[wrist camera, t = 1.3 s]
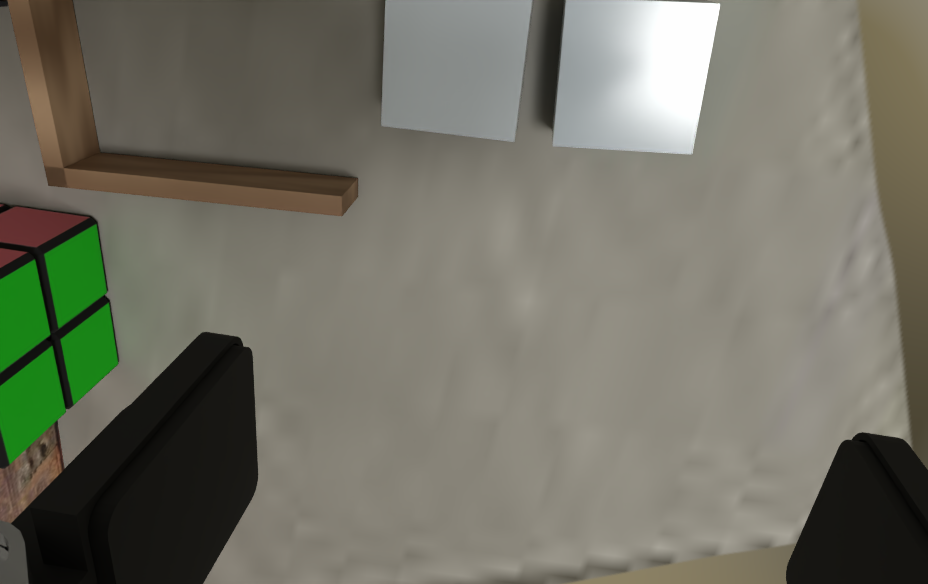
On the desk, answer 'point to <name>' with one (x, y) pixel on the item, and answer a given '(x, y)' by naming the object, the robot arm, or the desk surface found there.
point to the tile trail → (632, 73)
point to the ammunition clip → (3, 3)
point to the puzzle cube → (48, 321)
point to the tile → (455, 66)
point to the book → (30, 474)
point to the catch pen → (83, 166)
